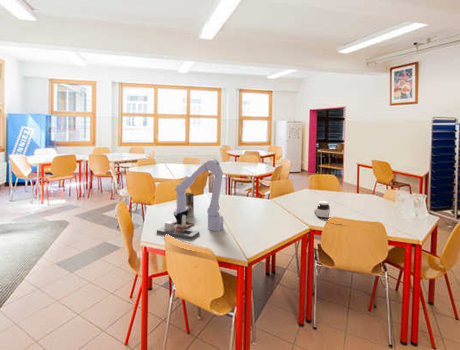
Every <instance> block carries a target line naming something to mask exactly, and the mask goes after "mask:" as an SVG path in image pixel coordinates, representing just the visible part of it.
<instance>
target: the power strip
mask: <svg viewBox="0 0 460 350" xmlns="http://www.w3.org/2000/svg"><path fill="white" fill-rule="evenodd" d="M156 234H158V235H159V234H160V235H164V236H166V235H165V234H169V235H171V236H170V237H175V238H180V239H185V240H190V241H191V240H194V239H195V238H197V237H198V236H200V231H198V230H192V229H182V228H176V227H174V230H173V231H165V225H164V226H162V227H160V228H158V229H157V230H156Z"/></svg>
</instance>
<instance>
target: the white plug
mask: <svg viewBox="0 0 460 350" xmlns="http://www.w3.org/2000/svg"><path fill="white" fill-rule="evenodd" d="M186 220H187V217H186V215H183V216H182V219H181V225H179V224H177V227H184V226H186V222H187V221H186Z"/></svg>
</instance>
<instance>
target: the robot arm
mask: <svg viewBox="0 0 460 350" xmlns="http://www.w3.org/2000/svg"><path fill="white" fill-rule="evenodd" d="M206 171H209V172H210V173H212V175H213V176H214V179H213V185H212V186H213V187H212V191H211V192H212V193H211V198H210V203H209V207H208V208H207V212H206V213H207V227H205V230H210V231H213V232H220V231H221V230H223V229H224V216H221V214H220V213H219V211H220V210H221V209H220V205H219V204H220V195H221V189H222V183H223V176H224V172H223V170H222V167H221V165H220V162H219V161H218V160H217V159H215V158H211V159H209V160H207V161H206V162H204V163H203V164H201V165H200V166H199V167H198V168H196V170H195V171H194V172H193V173H192V174H191V175H186V176H185V177H184V179H183V180H182V181H179V184H176V186H175V189H174V190H175V192H176V208H175V209H174V210H175V211H173V213H172V214H173V216H174V218H175V221H177V224H179V225H181V219H182V216H183V215H186V218H187V217H188V216H187V214H188V212H189V211H187V210H189V207H187V206H186V195H185V193H186V192H187V190H188V189H190V187H191V186H192V185H194V183H195V181H196V178H198V177H199V176H200V175H201V174H202V173H203V172H206ZM180 213H181V214H180Z"/></svg>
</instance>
